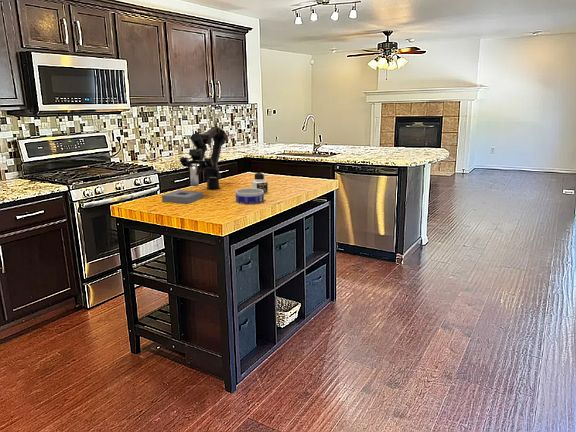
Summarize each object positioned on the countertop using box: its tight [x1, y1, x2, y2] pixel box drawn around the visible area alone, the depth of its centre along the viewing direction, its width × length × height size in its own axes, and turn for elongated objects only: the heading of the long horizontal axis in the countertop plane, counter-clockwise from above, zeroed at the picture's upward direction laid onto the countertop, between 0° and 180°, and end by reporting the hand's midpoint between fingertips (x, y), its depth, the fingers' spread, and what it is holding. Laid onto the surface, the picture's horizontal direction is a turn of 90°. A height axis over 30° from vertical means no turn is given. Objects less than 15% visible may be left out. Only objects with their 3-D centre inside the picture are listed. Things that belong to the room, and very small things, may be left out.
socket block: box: [161, 189, 204, 205], centre depth 246 cm, size 16×16×4 cm
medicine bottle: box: [251, 172, 269, 195], centre depth 262 cm, size 7×7×12 cm
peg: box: [189, 165, 200, 187], centre depth 249 cm, size 4×4×11 cm
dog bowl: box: [235, 187, 265, 205], centre depth 242 cm, size 15×15×6 cm
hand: (193, 174), depth 247 cm, fingers closed on peg, 4 cm apart
